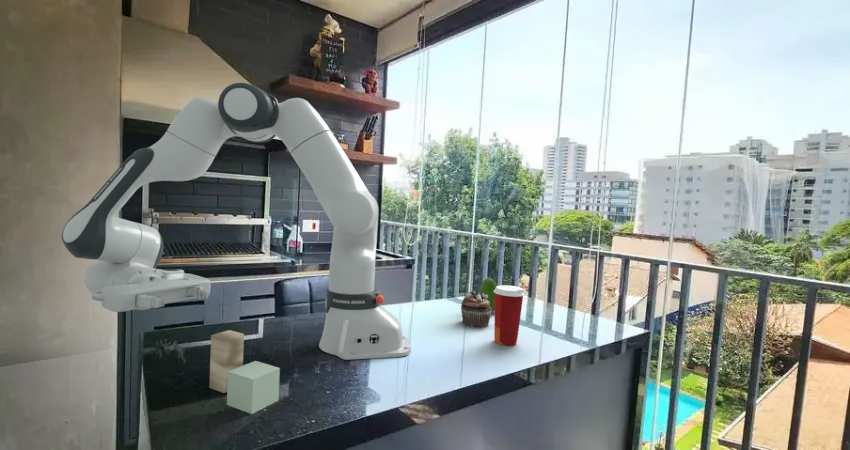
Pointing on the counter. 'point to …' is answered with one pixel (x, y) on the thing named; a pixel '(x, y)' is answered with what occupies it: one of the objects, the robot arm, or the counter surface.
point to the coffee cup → (507, 314)
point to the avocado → (489, 291)
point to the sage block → (253, 386)
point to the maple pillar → (225, 357)
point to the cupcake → (476, 309)
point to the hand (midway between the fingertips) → (184, 299)
